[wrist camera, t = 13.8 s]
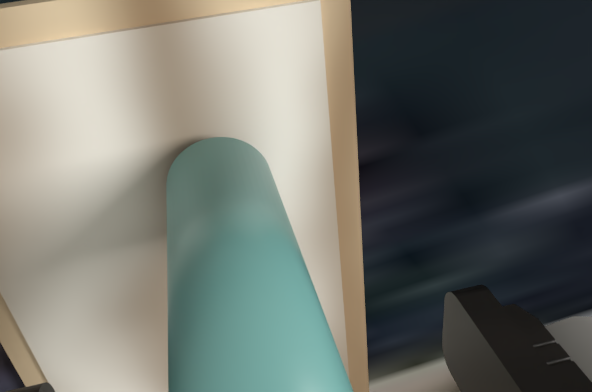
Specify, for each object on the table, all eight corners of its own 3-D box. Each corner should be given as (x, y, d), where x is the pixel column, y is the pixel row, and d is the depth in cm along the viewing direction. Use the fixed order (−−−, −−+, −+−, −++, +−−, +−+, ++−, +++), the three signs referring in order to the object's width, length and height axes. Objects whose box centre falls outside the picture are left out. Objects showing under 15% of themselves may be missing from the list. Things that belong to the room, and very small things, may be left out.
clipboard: (340, -46, 16) (357, -39, 15) (364, 386, 26) (375, 414, 25) (-160, 27, 14) (-196, 43, 13) (79, 459, 25) (73, 494, 23)
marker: (263, 117, 17) (427, 492, 6) (277, 210, 19) (420, 616, 8) (151, 137, 16) (129, 577, 6) (176, 231, 18) (193, 689, 8)
